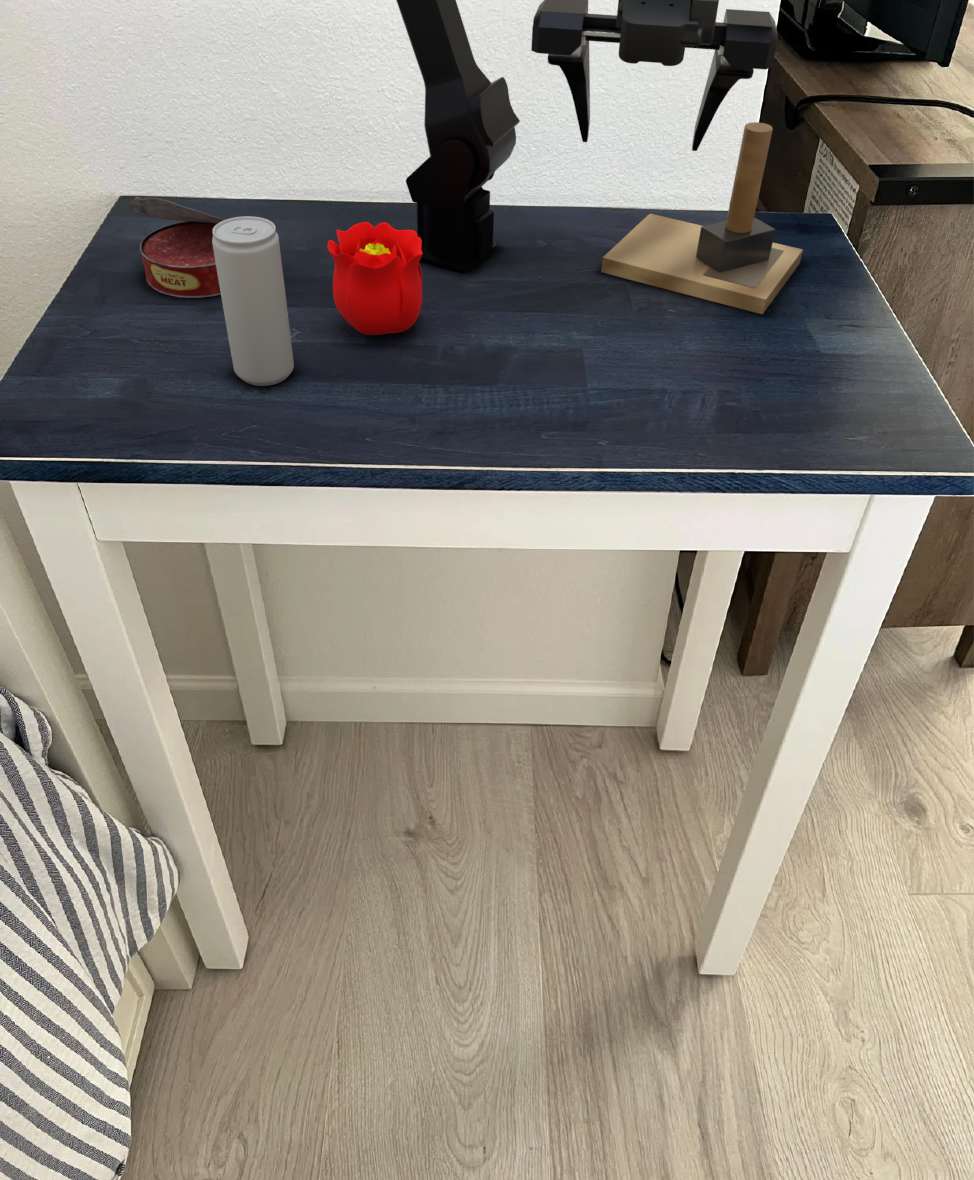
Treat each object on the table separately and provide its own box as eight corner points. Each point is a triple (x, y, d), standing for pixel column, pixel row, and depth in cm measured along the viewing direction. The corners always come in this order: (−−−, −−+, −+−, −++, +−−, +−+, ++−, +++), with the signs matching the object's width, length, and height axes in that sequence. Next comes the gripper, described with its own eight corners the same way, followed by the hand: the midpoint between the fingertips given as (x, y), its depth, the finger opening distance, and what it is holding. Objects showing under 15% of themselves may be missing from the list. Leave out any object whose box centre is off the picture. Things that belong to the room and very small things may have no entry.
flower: (433, 311, 90) (432, 224, 85) (416, 355, 84) (414, 264, 79) (347, 303, 91) (340, 216, 85) (324, 346, 85) (316, 255, 80)
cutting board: (600, 272, 96) (602, 256, 95) (647, 227, 104) (650, 212, 103) (762, 314, 91) (766, 298, 90) (799, 264, 99) (803, 248, 98)
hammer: (719, 272, 94) (745, 138, 85) (695, 257, 96) (718, 125, 88) (769, 259, 96) (799, 128, 88) (744, 245, 98) (771, 115, 90)
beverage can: (282, 392, 80) (263, 246, 72) (225, 384, 80) (199, 239, 72) (303, 361, 83) (286, 219, 75) (247, 354, 84) (225, 212, 76)
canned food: (153, 319, 97) (103, 215, 93) (246, 281, 101) (201, 179, 97) (184, 312, 87) (129, 196, 84) (284, 270, 91) (237, 157, 87)
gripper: (528, -58, 70) (518, 171, 80) (803, -41, 68) (755, 191, 79) (545, -88, 78) (534, 124, 88) (791, -73, 76) (749, 141, 87)
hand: (639, 145), depth 85 cm, fingers open, 9 cm apart
